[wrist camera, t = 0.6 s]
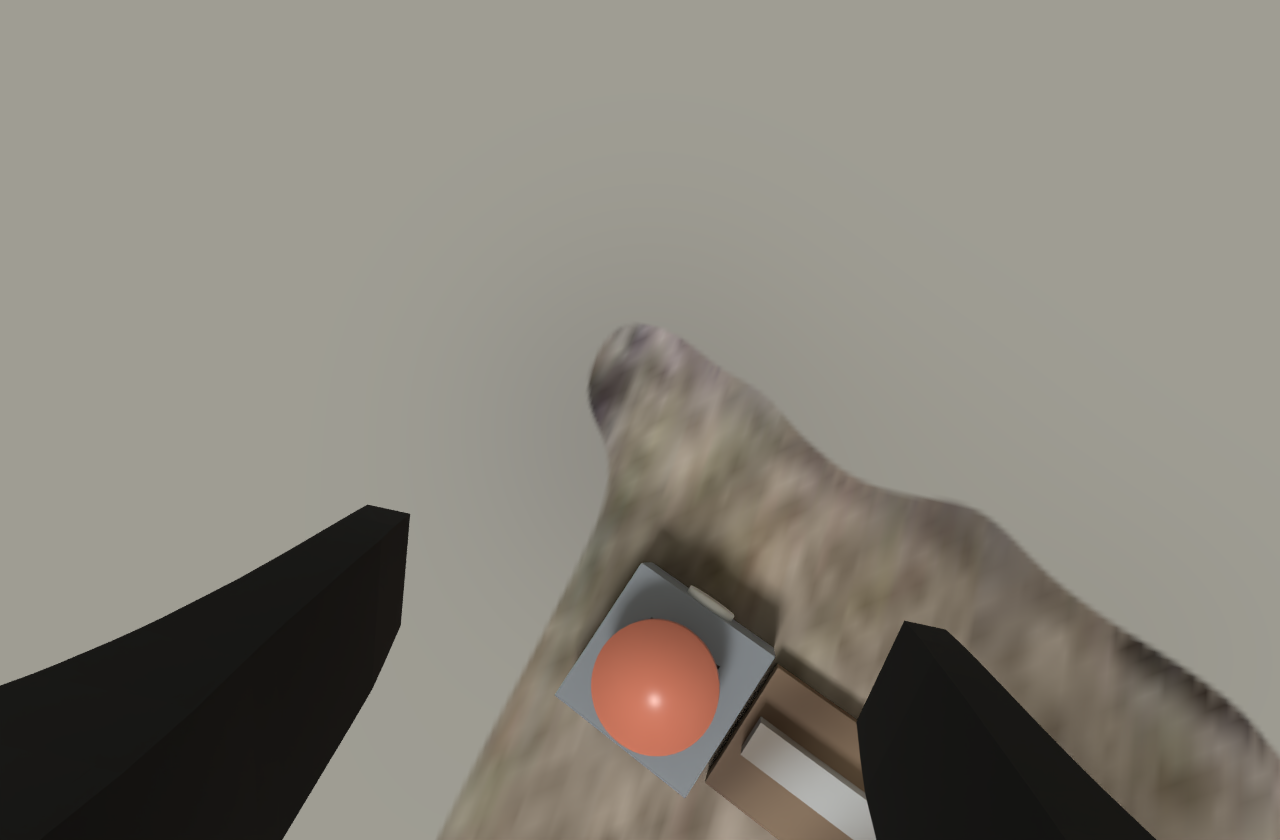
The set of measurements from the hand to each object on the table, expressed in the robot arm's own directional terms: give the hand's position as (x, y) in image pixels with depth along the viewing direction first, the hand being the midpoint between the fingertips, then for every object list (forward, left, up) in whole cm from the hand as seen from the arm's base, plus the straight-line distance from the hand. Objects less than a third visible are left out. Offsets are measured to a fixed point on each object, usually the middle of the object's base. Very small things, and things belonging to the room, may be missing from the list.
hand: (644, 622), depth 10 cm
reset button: (-3, +4, -22) cm, 23 cm away
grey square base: (-3, +4, -24) cm, 25 cm away
